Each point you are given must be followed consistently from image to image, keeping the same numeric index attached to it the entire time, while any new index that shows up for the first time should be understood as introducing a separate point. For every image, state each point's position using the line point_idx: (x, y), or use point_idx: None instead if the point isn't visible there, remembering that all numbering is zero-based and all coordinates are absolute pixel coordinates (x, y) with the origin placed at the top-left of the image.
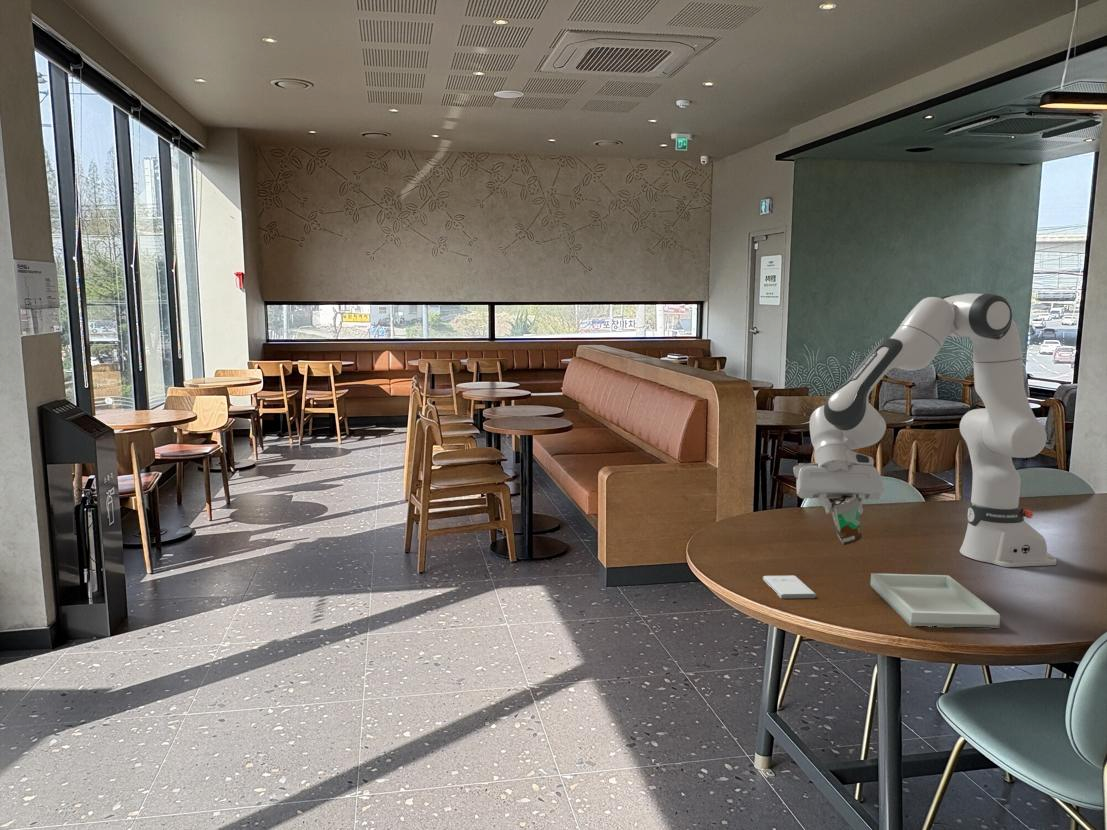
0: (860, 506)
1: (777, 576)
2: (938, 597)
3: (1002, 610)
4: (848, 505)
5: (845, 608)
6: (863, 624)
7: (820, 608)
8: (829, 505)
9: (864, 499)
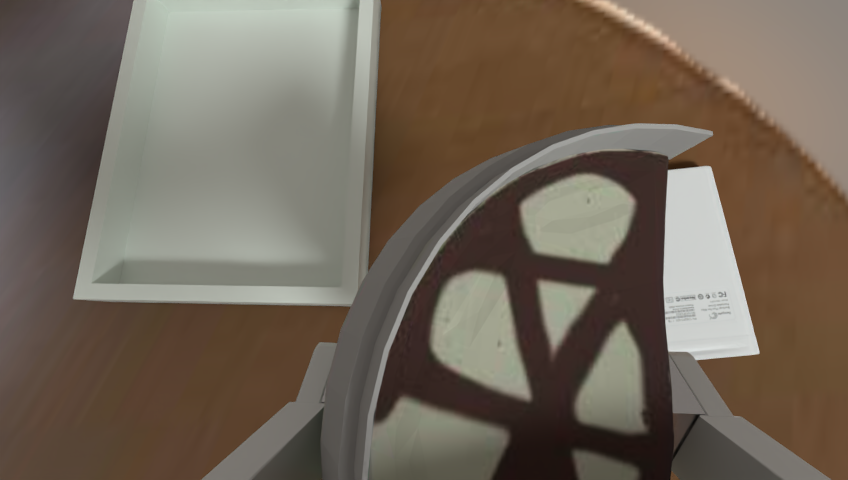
0: (322, 379)
1: (703, 352)
2: (205, 176)
3: (71, 124)
4: (546, 139)
5: (516, 106)
6: (500, 7)
7: (592, 101)
8: (690, 396)
9: (215, 469)
